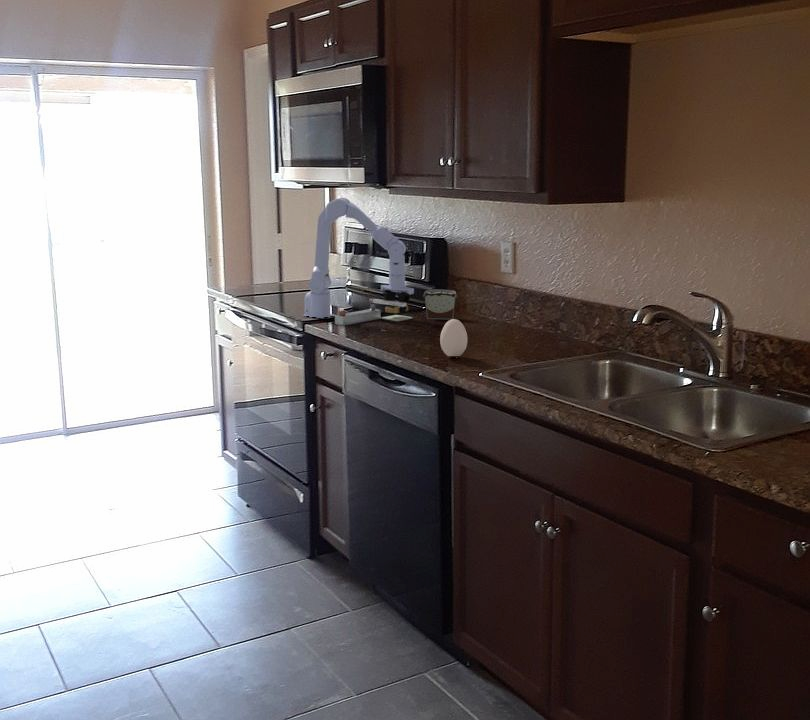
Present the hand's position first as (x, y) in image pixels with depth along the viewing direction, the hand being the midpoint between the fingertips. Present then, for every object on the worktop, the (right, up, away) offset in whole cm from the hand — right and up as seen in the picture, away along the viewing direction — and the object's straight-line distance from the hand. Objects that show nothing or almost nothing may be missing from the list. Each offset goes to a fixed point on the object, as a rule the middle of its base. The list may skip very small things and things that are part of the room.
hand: (397, 312), depth 328 cm
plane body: (-14, -4, -5) cm, 15 cm away
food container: (+16, -2, +2) cm, 16 cm away
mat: (0, -2, +1) cm, 2 cm away
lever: (-4, +3, -5) cm, 7 cm away
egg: (+17, -17, -63) cm, 68 cm away
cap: (0, 0, 0) cm, 0 cm away
